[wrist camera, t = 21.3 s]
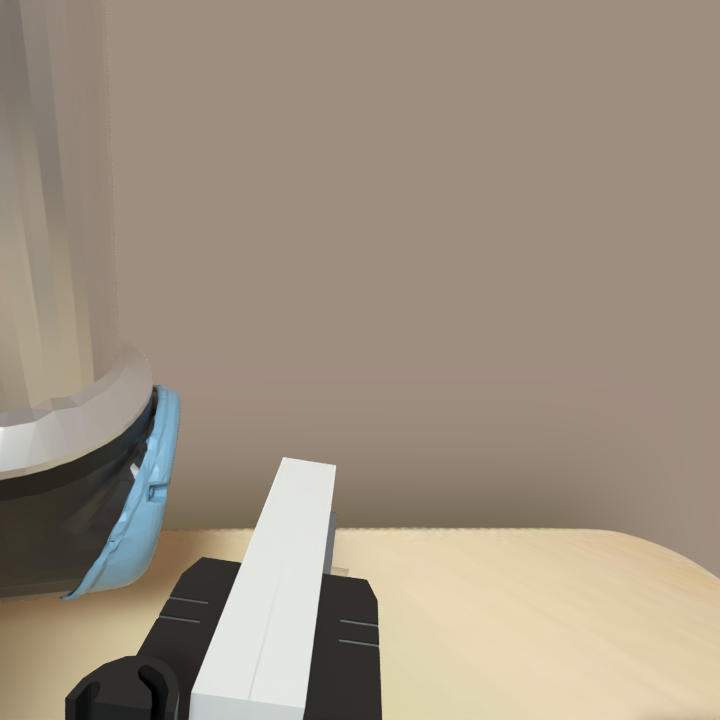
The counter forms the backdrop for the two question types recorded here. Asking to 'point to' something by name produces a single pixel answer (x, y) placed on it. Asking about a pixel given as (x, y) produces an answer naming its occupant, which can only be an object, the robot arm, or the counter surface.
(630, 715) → the counter surface
